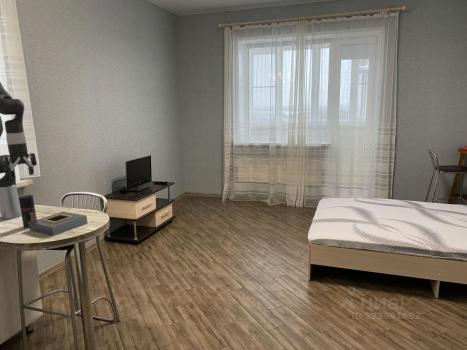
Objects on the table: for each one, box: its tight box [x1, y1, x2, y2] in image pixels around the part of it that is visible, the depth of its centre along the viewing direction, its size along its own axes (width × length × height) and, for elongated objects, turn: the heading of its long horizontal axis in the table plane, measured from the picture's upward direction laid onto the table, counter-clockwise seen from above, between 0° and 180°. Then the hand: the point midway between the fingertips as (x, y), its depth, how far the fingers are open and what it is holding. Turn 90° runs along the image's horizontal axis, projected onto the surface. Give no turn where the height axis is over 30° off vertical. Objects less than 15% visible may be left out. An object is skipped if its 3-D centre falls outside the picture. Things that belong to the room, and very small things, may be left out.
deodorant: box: [18, 194, 37, 229], centre depth 167 cm, size 6×6×15 cm
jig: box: [28, 211, 88, 237], centre depth 165 cm, size 18×18×4 cm
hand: (22, 176), depth 164 cm, fingers open, 8 cm apart
